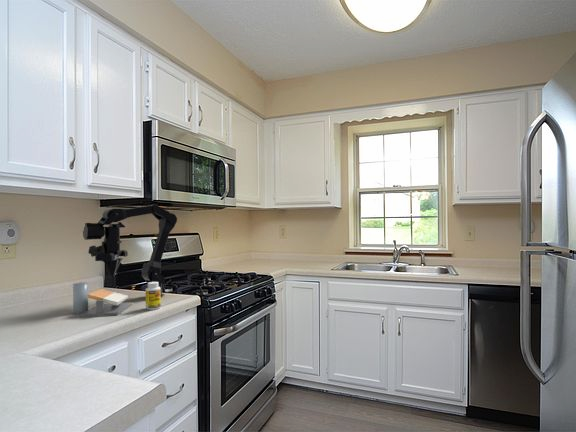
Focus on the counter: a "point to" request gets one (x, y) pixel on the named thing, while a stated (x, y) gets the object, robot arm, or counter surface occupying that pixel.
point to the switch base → (106, 309)
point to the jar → (80, 297)
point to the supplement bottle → (153, 296)
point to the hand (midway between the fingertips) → (112, 275)
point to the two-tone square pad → (108, 296)
